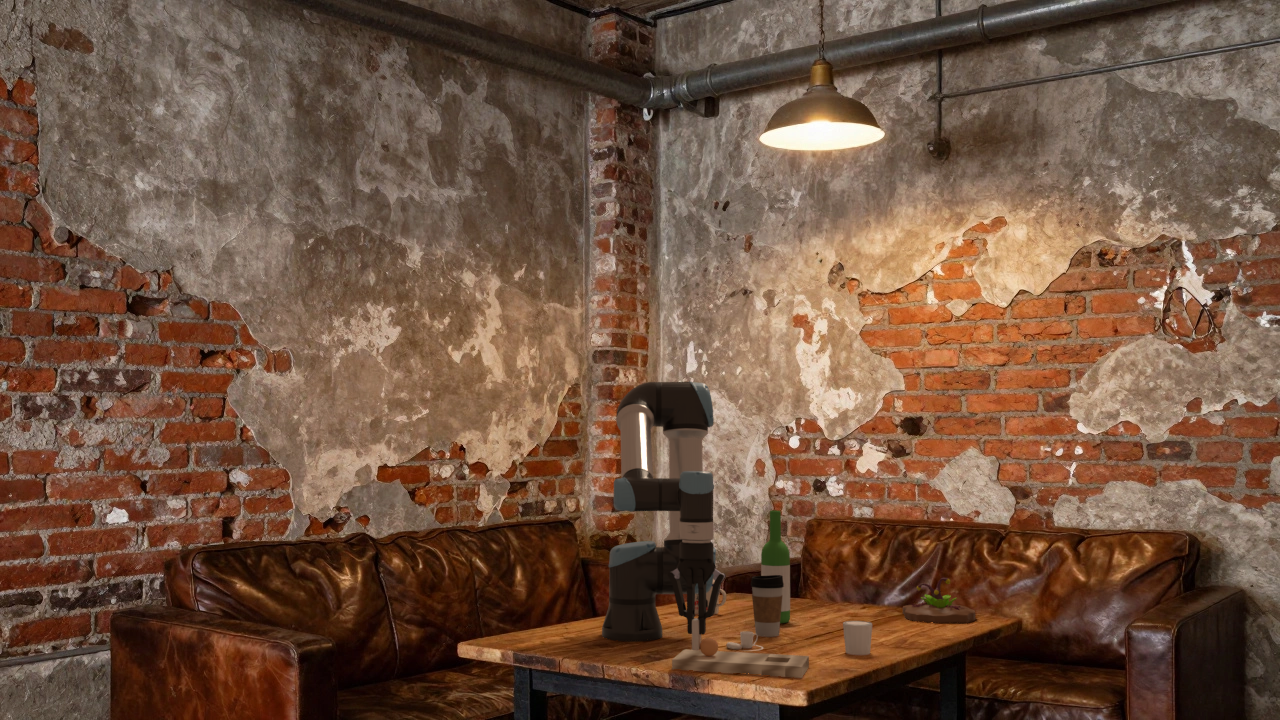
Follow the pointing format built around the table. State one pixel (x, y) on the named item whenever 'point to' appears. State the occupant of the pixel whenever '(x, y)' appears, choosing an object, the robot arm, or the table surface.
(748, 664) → the box with square hole
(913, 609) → the plant
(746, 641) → the teacup and saucer
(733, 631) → the table surface
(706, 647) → the ball
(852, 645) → the white cup
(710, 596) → the teacup with lid
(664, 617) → the table surface
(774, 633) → the coffee cup
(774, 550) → the wine bottle
